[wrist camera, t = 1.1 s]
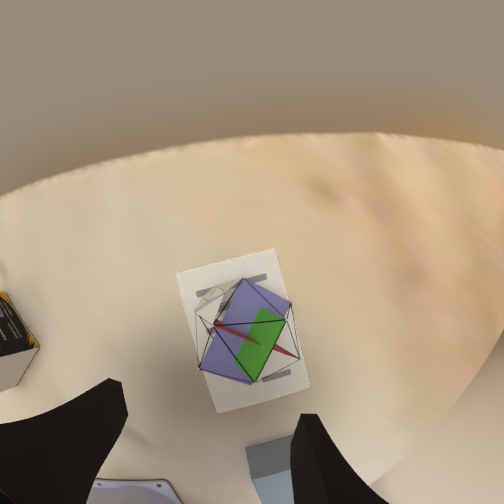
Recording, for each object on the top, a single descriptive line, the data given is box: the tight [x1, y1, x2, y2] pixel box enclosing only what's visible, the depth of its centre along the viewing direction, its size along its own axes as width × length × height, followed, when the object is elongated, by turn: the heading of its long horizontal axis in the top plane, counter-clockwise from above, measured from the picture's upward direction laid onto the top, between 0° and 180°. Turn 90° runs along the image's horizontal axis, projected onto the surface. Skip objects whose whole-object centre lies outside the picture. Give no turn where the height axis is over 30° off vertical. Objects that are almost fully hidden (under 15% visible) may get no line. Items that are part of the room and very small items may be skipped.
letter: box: [175, 248, 311, 414], centre depth 21 cm, size 8×12×1 cm, turn 15°
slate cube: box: [246, 435, 294, 504], centre depth 17 cm, size 4×4×5 cm
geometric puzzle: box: [194, 276, 301, 386], centre depth 18 cm, size 7×7×8 cm
